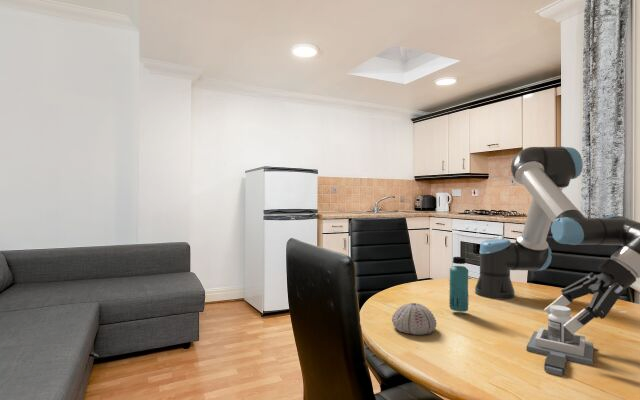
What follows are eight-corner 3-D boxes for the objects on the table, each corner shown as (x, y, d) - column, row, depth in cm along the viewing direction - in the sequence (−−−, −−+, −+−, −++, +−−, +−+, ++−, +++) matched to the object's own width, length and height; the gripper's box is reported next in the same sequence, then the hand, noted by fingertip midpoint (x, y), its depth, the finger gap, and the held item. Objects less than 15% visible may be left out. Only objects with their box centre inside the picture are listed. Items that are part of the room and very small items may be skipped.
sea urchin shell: (435, 340, 102) (435, 312, 102) (388, 334, 107) (388, 307, 107) (437, 325, 115) (437, 300, 115) (395, 320, 120) (395, 296, 120)
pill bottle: (569, 342, 99) (569, 305, 99) (576, 350, 93) (576, 311, 93) (545, 339, 100) (545, 303, 100) (551, 347, 95) (551, 309, 95)
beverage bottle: (469, 312, 129) (469, 256, 129) (468, 317, 123) (468, 259, 123) (449, 309, 131) (450, 255, 131) (448, 314, 125) (448, 257, 125)
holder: (519, 365, 87) (519, 352, 87) (534, 335, 107) (534, 324, 107) (591, 384, 78) (591, 369, 78) (593, 347, 98) (593, 335, 98)
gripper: (668, 291, 80) (590, 350, 84) (609, 270, 105) (551, 317, 108) (640, 266, 82) (565, 325, 85) (588, 251, 106) (531, 298, 110)
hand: (557, 321), depth 97 cm, fingers open, 13 cm apart
